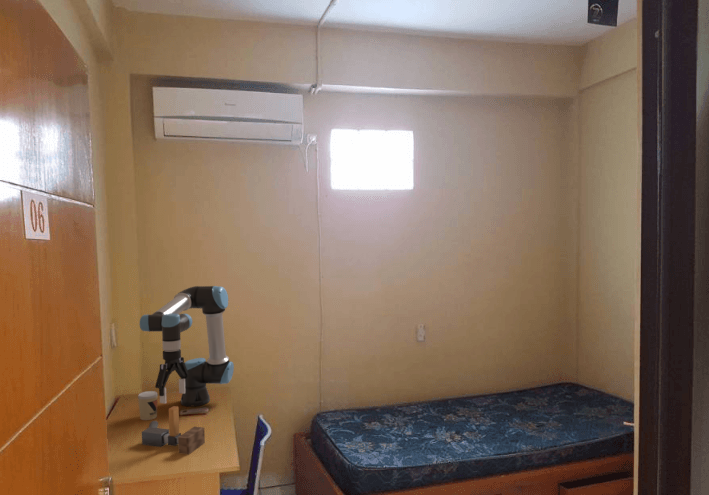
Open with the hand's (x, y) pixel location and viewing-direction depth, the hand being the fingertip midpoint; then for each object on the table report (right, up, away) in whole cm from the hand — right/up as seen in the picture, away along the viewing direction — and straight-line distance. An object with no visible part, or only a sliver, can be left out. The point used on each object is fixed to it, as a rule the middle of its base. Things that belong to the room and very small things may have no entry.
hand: (173, 398), depth 233 cm
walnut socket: (+9, -21, -1) cm, 23 cm away
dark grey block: (-9, -21, +4) cm, 24 cm away
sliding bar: (-4, -20, +3) cm, 21 cm away
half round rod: (-16, -21, +19) cm, 33 cm away
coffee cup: (-25, -20, +36) cm, 48 cm away
